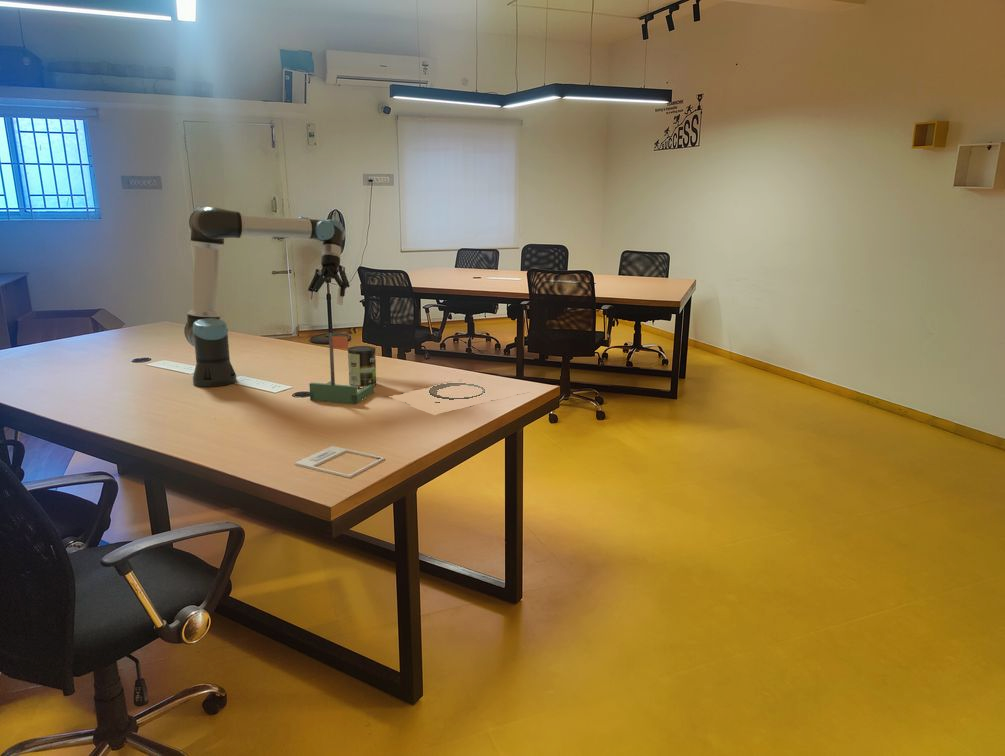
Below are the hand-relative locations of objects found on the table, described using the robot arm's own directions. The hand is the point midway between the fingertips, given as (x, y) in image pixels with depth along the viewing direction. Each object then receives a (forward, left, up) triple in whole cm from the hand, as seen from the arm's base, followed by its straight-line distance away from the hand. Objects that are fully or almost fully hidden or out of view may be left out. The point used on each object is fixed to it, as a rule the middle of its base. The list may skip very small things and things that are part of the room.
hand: (326, 306), depth 273 cm
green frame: (-22, -43, -25) cm, 54 cm away
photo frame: (-59, -96, -26) cm, 115 cm away
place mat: (+9, -69, -26) cm, 74 cm away
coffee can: (-8, -35, -26) cm, 44 cm away
